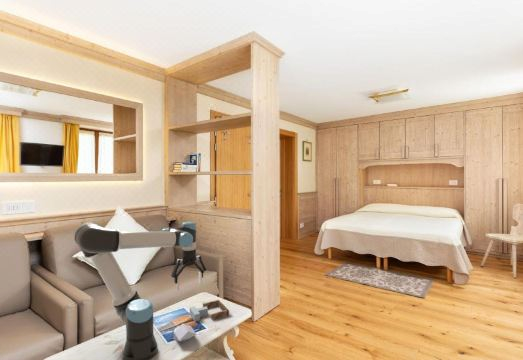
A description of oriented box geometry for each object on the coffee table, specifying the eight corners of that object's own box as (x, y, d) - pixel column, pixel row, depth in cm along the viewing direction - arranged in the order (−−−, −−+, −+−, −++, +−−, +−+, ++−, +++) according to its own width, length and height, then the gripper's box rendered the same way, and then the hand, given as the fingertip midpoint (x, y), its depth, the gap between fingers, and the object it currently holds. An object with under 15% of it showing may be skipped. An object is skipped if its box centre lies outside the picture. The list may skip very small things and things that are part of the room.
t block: (194, 321, 162) (194, 314, 162) (189, 314, 170) (189, 307, 170) (210, 317, 166) (209, 310, 166) (204, 310, 175) (204, 304, 175)
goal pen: (212, 319, 164) (212, 314, 163) (202, 308, 178) (202, 303, 178) (228, 315, 169) (228, 310, 169) (218, 304, 183) (218, 299, 183)
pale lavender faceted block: (197, 341, 143) (188, 329, 154) (197, 328, 143) (188, 317, 153) (179, 347, 138) (171, 334, 149) (179, 333, 138) (171, 322, 149)
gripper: (169, 254, 153) (169, 293, 153) (211, 247, 168) (211, 283, 168) (165, 251, 159) (165, 288, 159) (206, 244, 174) (206, 279, 174)
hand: (189, 286), depth 164 cm, fingers open, 13 cm apart
